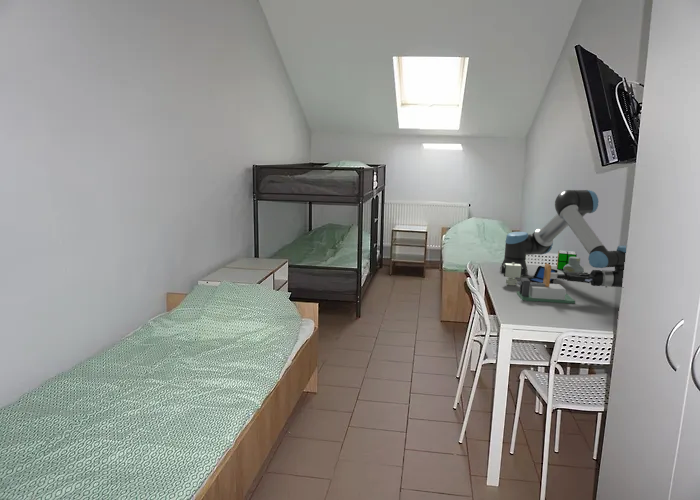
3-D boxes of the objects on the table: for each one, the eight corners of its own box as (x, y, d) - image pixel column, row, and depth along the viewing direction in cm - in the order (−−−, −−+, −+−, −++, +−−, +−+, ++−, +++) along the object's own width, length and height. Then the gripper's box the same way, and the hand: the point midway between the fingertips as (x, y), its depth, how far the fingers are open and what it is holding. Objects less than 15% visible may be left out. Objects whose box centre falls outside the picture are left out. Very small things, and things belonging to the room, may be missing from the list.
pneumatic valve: (523, 286, 281) (525, 264, 278) (500, 285, 282) (502, 262, 280) (521, 284, 286) (524, 261, 284) (499, 282, 288) (501, 260, 286)
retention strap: (546, 284, 261) (548, 263, 259) (549, 286, 256) (551, 265, 254) (516, 282, 262) (518, 262, 260) (518, 285, 257) (520, 264, 255)
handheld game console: (524, 280, 295) (525, 267, 294) (537, 278, 301) (538, 265, 300) (544, 286, 285) (545, 272, 284) (557, 283, 291) (558, 270, 290)
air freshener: (585, 275, 312) (587, 258, 310) (577, 277, 307) (579, 260, 305) (568, 271, 320) (570, 255, 319) (560, 273, 316) (562, 256, 314)
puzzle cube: (574, 267, 333) (575, 251, 331) (574, 271, 323) (576, 254, 321) (556, 266, 336) (558, 250, 334) (557, 269, 327) (558, 252, 325)
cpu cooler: (567, 296, 265) (569, 278, 263) (575, 303, 253) (577, 284, 251) (516, 293, 266) (518, 276, 265) (522, 300, 255) (524, 282, 253)
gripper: (605, 289, 250) (552, 286, 251) (594, 282, 263) (544, 279, 264) (607, 273, 248) (554, 270, 250) (596, 267, 261) (546, 264, 263)
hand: (549, 275), depth 257 cm, fingers closed
